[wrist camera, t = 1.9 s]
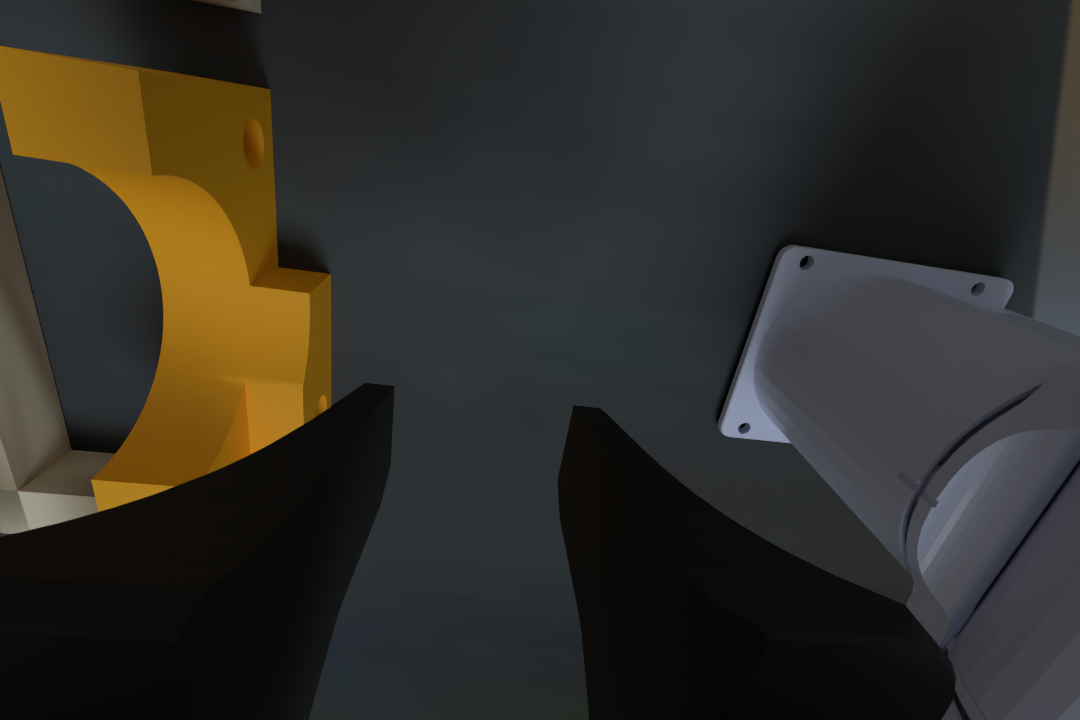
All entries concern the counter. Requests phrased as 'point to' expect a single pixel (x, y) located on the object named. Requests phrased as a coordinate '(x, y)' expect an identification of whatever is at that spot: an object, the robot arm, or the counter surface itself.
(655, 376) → the counter surface
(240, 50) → the counter surface
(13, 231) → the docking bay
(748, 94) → the counter surface
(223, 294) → the pipe clamp
